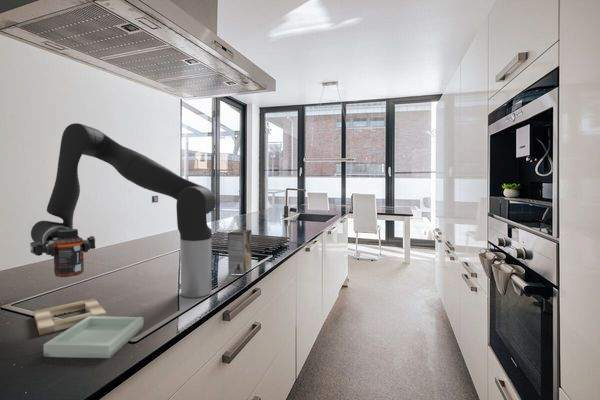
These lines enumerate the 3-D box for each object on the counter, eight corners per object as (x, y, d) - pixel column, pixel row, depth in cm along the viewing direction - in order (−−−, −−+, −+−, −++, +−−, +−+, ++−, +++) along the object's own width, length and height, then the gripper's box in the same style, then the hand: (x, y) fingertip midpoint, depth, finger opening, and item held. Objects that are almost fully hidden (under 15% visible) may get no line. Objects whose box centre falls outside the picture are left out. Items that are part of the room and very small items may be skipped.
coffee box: (236, 268, 125) (236, 229, 124) (251, 269, 124) (252, 229, 123) (227, 275, 116) (227, 232, 115) (244, 276, 115) (244, 233, 114)
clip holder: (34, 316, 79) (34, 311, 79) (94, 303, 88) (94, 298, 88) (39, 335, 69) (39, 328, 69) (106, 318, 79) (106, 312, 78)
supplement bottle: (87, 274, 78) (85, 229, 78) (57, 279, 74) (55, 232, 73) (80, 269, 82) (79, 227, 82) (52, 274, 78) (50, 229, 77)
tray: (89, 326, 74) (89, 316, 74) (143, 327, 74) (143, 317, 74) (43, 356, 61) (43, 344, 61) (109, 358, 61) (109, 345, 61)
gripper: (25, 229, 83) (30, 238, 71) (90, 224, 93) (104, 231, 81) (27, 257, 83) (32, 270, 71) (90, 249, 93) (104, 260, 81)
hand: (70, 249), depth 76 cm, fingers closed on supplement bottle, 6 cm apart
